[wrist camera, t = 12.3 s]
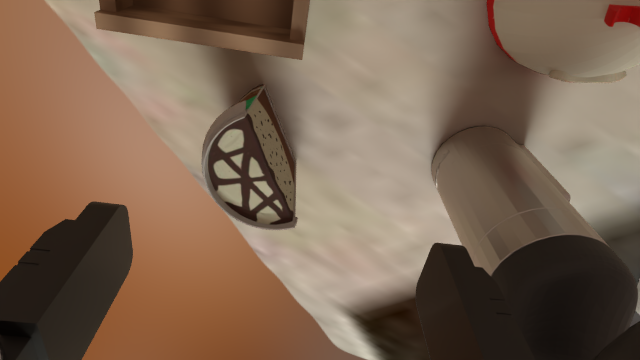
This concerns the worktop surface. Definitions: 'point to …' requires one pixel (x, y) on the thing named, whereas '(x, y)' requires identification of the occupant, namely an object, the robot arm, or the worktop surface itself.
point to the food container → (251, 164)
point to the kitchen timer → (569, 36)
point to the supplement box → (639, 303)
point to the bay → (213, 23)
